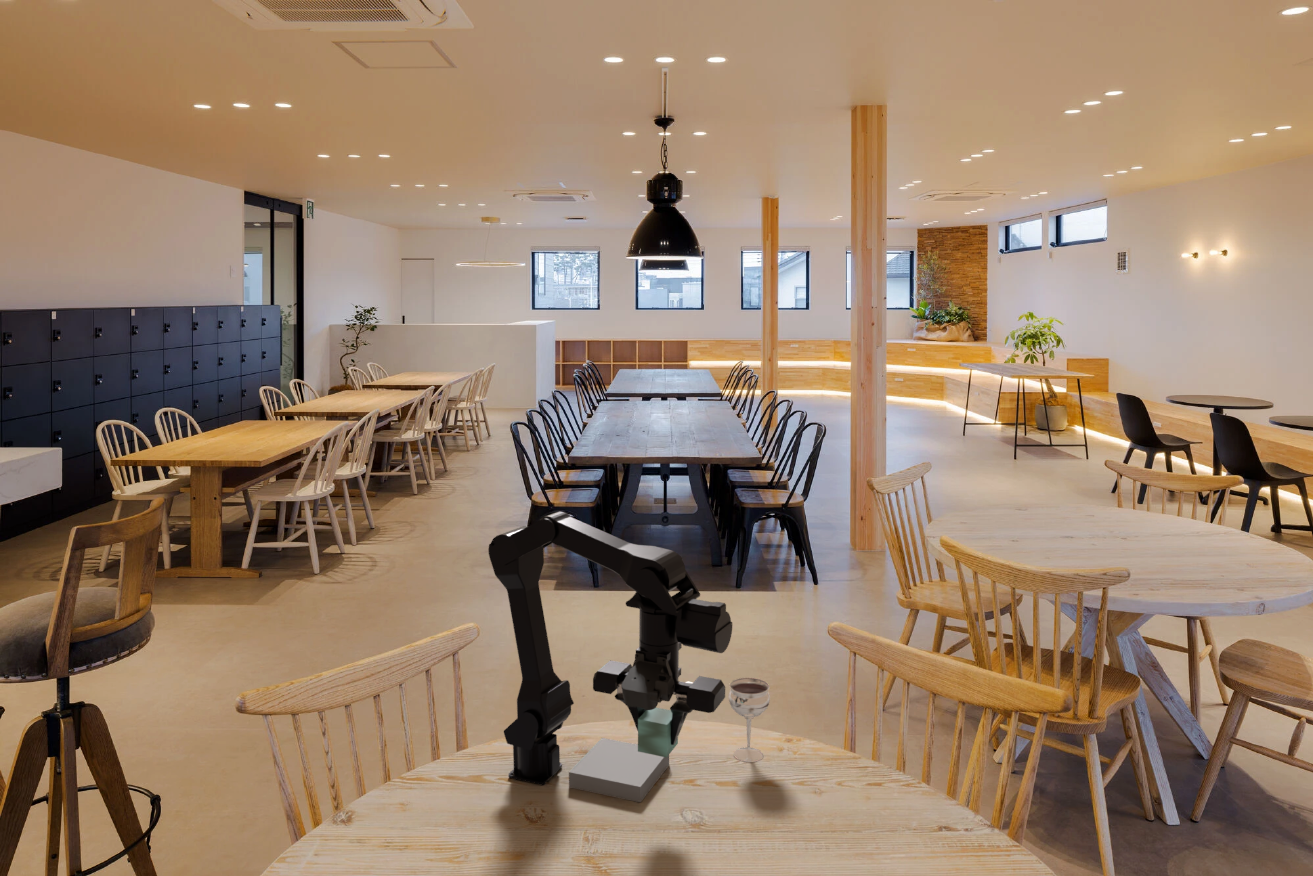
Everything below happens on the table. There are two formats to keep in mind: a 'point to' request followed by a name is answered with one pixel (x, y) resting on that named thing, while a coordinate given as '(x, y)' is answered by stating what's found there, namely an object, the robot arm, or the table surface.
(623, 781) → the plinth
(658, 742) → the teal block
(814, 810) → the table surface
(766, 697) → the wineglass
